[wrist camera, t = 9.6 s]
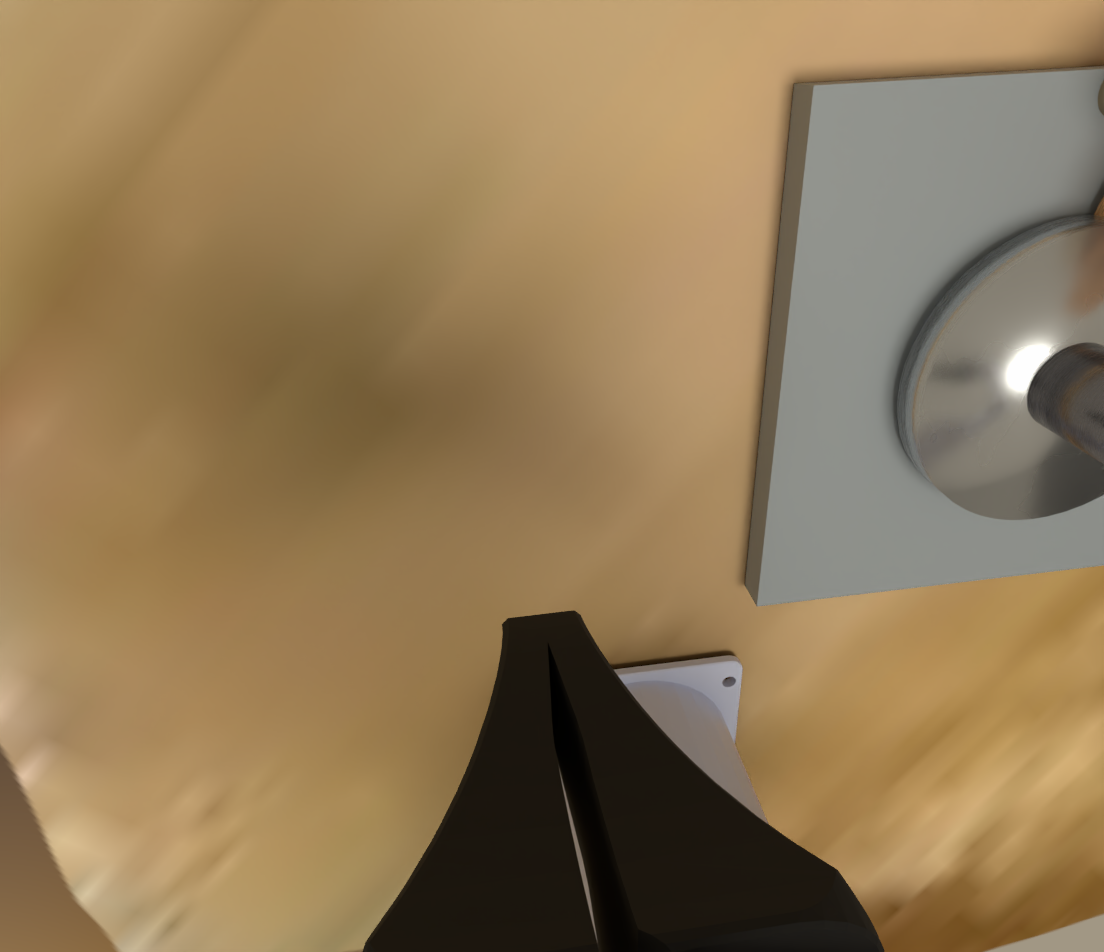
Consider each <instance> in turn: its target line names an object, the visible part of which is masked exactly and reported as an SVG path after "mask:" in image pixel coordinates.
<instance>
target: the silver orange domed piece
mask: <svg viewBox="0 0 1104 952" xmlns="http://www.w3.org/2000/svg"><path fill="white" fill-rule="evenodd" d="M897 420H898V426H899V432H900V437H901V440H902V443H903V446H904V449H905V451H906V453H907V455H908V457H909V458H910V460H911V462H912V464H913V465H914V466H915V467H916V468H917V470H918V471H919V472H920V473H921V474H922V475H923V476H924V477H925V478H926V479H927V480H928V481H929V482H931V483H932V484H933V485H934V486H935V487H936V488H937V489H938V490H940V491H941V492H942V493H943V494H944V495H945V496H946V497H948V498H949V499H950V500H951V501H952V502H953V503H955V504H957V505H958V506H960V507H962V508H964V509H965V510H967V511H970V512H972V513H975V514H978V515H980V516H985V517H989V518H994V519H1003V520H1027V519H1035V518H1041V517H1047V516H1051V515H1055V514H1058V513H1062V512H1066V511H1068V510H1071V509H1074V508H1076V507H1079V506H1082V505H1084V504H1086V503H1088V502H1090V501H1092V500H1094V499H1097V498H1099V497H1101V496H1103V495H1104V196H1103V198H1102V200H1101V202H1100V204H1099V206H1098V207H1097V209H1096V211H1095V213H1094V215H1081V216H1074V217H1067V218H1064V219H1060V220H1056V221H1053V222H1049V223H1046V224H1043V225H1041V226H1038V227H1036V228H1033V229H1031V230H1028V231H1026V232H1024V233H1022V234H1020V235H1018V236H1016V237H1015V238H1013V239H1011V240H1009V241H1007V242H1005V243H1004V244H1002V245H1001V246H999V247H998V248H996V249H995V250H993V251H992V252H990V253H989V254H987V255H986V256H985V257H983V258H982V259H981V260H980V261H979V262H977V263H976V264H975V265H974V266H973V267H971V268H970V269H969V270H968V271H967V272H965V273H964V274H963V276H962V277H961V278H960V279H959V280H958V281H957V282H956V283H955V284H954V285H953V286H952V287H951V288H950V289H949V290H948V291H947V292H946V294H945V295H944V296H943V297H942V298H941V300H940V301H939V302H938V303H937V305H936V306H935V307H934V309H933V310H932V312H931V313H930V315H929V316H928V318H927V319H926V321H925V322H924V324H923V325H922V327H921V329H920V331H919V333H918V335H917V337H916V339H915V340H914V342H913V344H912V347H911V349H910V352H909V354H908V357H907V359H906V362H905V365H904V368H903V372H902V376H901V380H900V384H899V392H898V399H897Z"/></svg>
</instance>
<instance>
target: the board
mask: <svg viewBox="0 0 1104 952" xmlns="http://www.w3.org/2000/svg"><path fill="white" fill-rule="evenodd" d="M1103 80H1104V66H1093V67H1075V68H1058V69H1040V70H1022V71H1005V72H987V73H970V74H952V75H934V76H917V77H899V78H882V79H864V80H847V81H829V82H811V83H794V89H793V99H792V109H791V119H790V130H789V140H788V150H787V160H786V171H785V181H784V191H783V201H782V211H781V222H780V232H779V242H778V252H777V263H776V273H775V283H774V293H773V303H772V314H771V324H770V334H769V344H768V355H767V365H766V375H765V385H764V395H763V406H762V416H761V426H760V436H759V447H758V457H757V467H756V477H755V487H754V498H753V508H752V518H751V528H750V539H749V549H748V559H747V569H746V579H745V586H746V588H747V590H748V592H749V593H750V595H751V597H752V599H753V600H754V602H755V604H756V606H765V605H773V604H782V603H790V602H799V601H807V600H815V599H824V598H832V597H841V596H849V595H858V594H866V593H875V592H883V591H891V590H900V589H908V588H917V587H925V586H934V585H942V584H950V583H959V582H967V581H976V580H984V579H993V578H1001V577H1009V576H1018V575H1026V574H1035V573H1043V572H1052V571H1060V570H1069V569H1077V568H1085V567H1094V566H1102V565H1104V495H1103V496H1101V497H1099V498H1097V499H1094V500H1092V501H1090V502H1088V503H1086V504H1084V505H1082V506H1079V507H1076V508H1074V509H1071V510H1068V511H1066V512H1062V513H1058V514H1055V515H1051V516H1047V517H1041V518H1035V519H1027V520H1003V519H994V518H989V517H985V516H980V515H978V514H975V513H972V512H970V511H967V510H965V509H964V508H962V507H960V506H958V505H957V504H955V503H953V502H952V501H951V500H950V499H949V498H948V497H946V496H945V495H944V494H943V493H942V492H941V491H940V490H938V489H937V488H936V487H935V486H934V485H933V484H932V483H931V482H929V481H928V480H927V479H926V478H925V477H924V476H923V475H922V474H921V473H920V472H919V471H918V470H917V468H916V467H915V466H914V465H913V464H912V462H911V460H910V458H909V457H908V455H907V453H906V451H905V449H904V446H903V443H902V440H901V437H900V432H899V426H898V420H897V399H898V392H899V384H900V380H901V376H902V372H903V368H904V365H905V362H906V359H907V357H908V354H909V352H910V349H911V347H912V344H913V342H914V340H915V339H916V337H917V335H918V333H919V331H920V329H921V327H922V325H923V324H924V322H925V321H926V319H927V318H928V316H929V315H930V313H931V312H932V310H933V309H934V307H935V306H936V305H937V303H938V302H939V301H940V300H941V298H942V297H943V296H944V295H945V294H946V292H947V291H948V290H949V289H950V288H951V287H952V286H953V285H954V284H955V283H956V282H957V281H958V280H959V279H960V278H961V277H962V276H963V274H964V273H965V272H967V271H968V270H969V269H970V268H971V267H973V266H974V265H975V264H976V263H977V262H979V261H980V260H981V259H982V258H983V257H985V256H986V255H987V254H989V253H990V252H992V251H993V250H995V249H996V248H998V247H999V246H1001V245H1002V244H1004V243H1005V242H1007V241H1009V240H1011V239H1013V238H1015V237H1016V236H1018V235H1020V234H1022V233H1024V232H1026V231H1028V230H1031V229H1033V228H1036V227H1038V226H1041V225H1043V224H1046V223H1049V222H1053V221H1056V220H1060V219H1064V218H1067V217H1074V216H1081V215H1094V213H1095V211H1096V209H1097V207H1098V206H1099V204H1100V202H1101V200H1102V198H1103V196H1104V116H1103V115H1102V113H1101V112H1100V110H1099V107H1098V93H1099V90H1100V87H1101V84H1102V82H1103Z"/></svg>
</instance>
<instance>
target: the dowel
mask: <svg viewBox="0 0 1104 952" xmlns="http://www.w3.org/2000/svg"><path fill="white" fill-rule="evenodd" d="M1098 107H1099V110H1100V112H1101V113H1102V115H1103V116H1104V80H1103V82H1102V84H1101V87H1100V90H1099V93H1098Z"/></svg>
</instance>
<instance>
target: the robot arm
mask: <svg viewBox="0 0 1104 952" xmlns="http://www.w3.org/2000/svg"><path fill="white" fill-rule="evenodd" d="M502 627H503V638H502V649H501V656H500V662H499V667H498V672H497V677H496V681H495V685H494V689H493V693H492V696H491V700H490V704H489V708H488V711H487V714H486V717H485V720H484V723H483V726H482V729H481V732H480V735H479V738H478V741H477V744H476V747H475V749H474V752H473V754H472V757H471V759H470V762H469V764H468V767H467V769H466V772H465V774H464V776H463V779H462V781H461V783H460V785H459V788H458V790H457V792H456V794H455V796H454V798H453V800H452V802H451V804H450V806H449V808H448V810H447V813H446V815H445V817H444V819H443V821H442V823H441V824H440V826H439V828H438V830H437V832H436V834H435V836H434V838H433V839H432V841H431V843H430V845H429V846H428V848H427V850H426V851H425V853H424V855H423V856H422V858H421V860H420V861H419V863H418V865H417V866H416V868H415V870H414V871H413V873H412V875H411V876H410V878H409V880H408V881H407V883H406V885H405V886H404V888H403V889H402V891H401V892H400V894H399V895H398V897H397V898H396V900H395V901H394V902H393V904H392V905H391V907H390V908H389V910H388V911H387V912H386V914H385V915H384V917H383V918H382V920H381V921H380V922H379V924H378V925H377V927H376V928H375V930H374V931H373V932H372V934H371V935H370V937H369V938H368V940H367V941H366V943H365V946H364V949H363V952H884V949H883V946H882V944H881V942H880V940H879V937H878V935H877V932H876V930H875V928H874V926H873V924H872V922H871V920H870V919H869V917H868V915H867V913H866V912H865V910H864V909H863V907H862V905H861V904H860V902H859V901H858V899H857V898H856V896H855V894H854V893H853V891H852V890H851V889H850V887H849V886H848V884H847V883H846V881H845V880H844V878H843V877H842V875H841V874H840V873H839V871H838V870H837V869H835V868H834V867H832V866H830V865H829V864H827V863H826V862H824V861H822V860H821V859H819V858H818V857H816V856H815V855H813V854H811V853H810V852H808V851H807V850H805V849H803V848H802V847H800V846H799V845H797V844H796V843H794V842H793V841H791V840H790V839H788V838H787V837H785V836H784V835H782V834H781V833H780V832H778V831H777V830H776V829H774V828H773V827H771V826H770V825H769V824H768V822H767V819H766V817H765V815H764V812H763V810H762V808H761V805H760V803H759V800H758V798H757V796H756V793H755V791H754V789H753V786H752V784H751V782H750V779H749V777H748V774H747V772H746V770H745V767H744V765H743V763H742V760H741V758H740V756H739V753H738V751H737V748H736V746H735V739H736V729H737V719H738V709H739V700H740V690H741V680H742V671H743V669H742V665H741V663H740V661H739V659H738V658H737V657H735V656H731V655H727V656H719V657H711V658H703V659H695V660H687V661H679V662H671V663H663V664H655V665H646V666H638V667H630V668H622V669H614V670H613V668H612V667H611V665H610V664H609V663H608V661H607V660H606V658H605V657H604V655H603V654H602V652H601V651H600V649H599V647H598V646H597V644H596V643H595V641H594V639H593V638H592V636H591V634H590V633H589V631H588V629H587V627H586V625H585V624H584V622H583V620H582V617H581V615H580V614H578V613H577V612H576V611H565V612H557V613H549V614H540V615H532V616H524V617H515V618H508V619H507V620H506V621H505V622H504V623H503V624H502ZM727 677H730V678H729V679H726V680H724V679H725V678H727Z"/></svg>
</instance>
